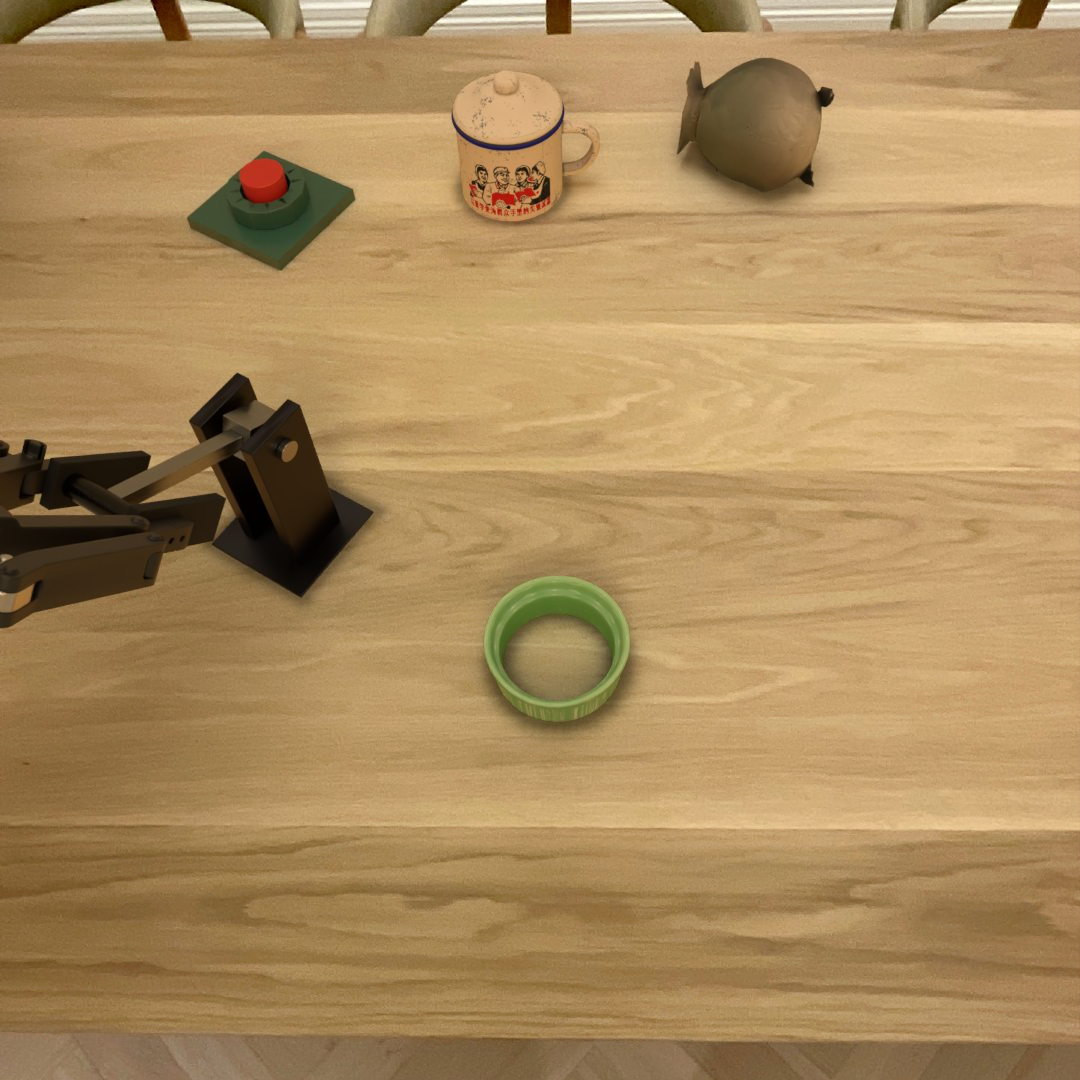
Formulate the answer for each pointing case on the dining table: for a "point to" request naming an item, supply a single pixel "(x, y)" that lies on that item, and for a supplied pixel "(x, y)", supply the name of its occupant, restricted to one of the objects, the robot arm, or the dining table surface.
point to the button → (263, 181)
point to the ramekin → (556, 599)
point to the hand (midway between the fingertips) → (176, 495)
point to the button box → (273, 214)
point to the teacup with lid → (515, 145)
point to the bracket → (278, 494)
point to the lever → (170, 465)
